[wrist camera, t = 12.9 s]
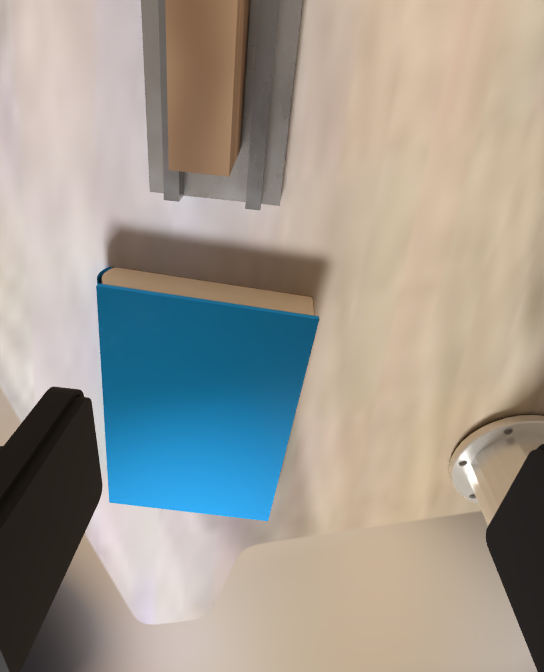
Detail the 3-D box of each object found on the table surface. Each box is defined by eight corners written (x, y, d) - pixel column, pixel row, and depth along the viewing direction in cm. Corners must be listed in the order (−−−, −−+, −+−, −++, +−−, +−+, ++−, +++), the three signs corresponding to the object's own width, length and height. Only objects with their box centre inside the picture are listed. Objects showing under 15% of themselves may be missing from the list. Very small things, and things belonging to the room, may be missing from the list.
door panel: (250, -7, 25) (239, -28, 18) (241, 147, 29) (229, 176, 22) (197, -14, 25) (164, -37, 18) (195, 142, 29) (168, 169, 22)
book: (319, 316, 33) (270, 524, 46) (315, 290, 37) (271, 490, 50) (84, 284, 32) (103, 506, 45) (105, 261, 36) (116, 472, 49)
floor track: (141, -102, 23) (127, -117, 21) (310, -79, 24) (313, -92, 22) (153, 187, 31) (144, 197, 29) (279, 201, 32) (279, 212, 30)
